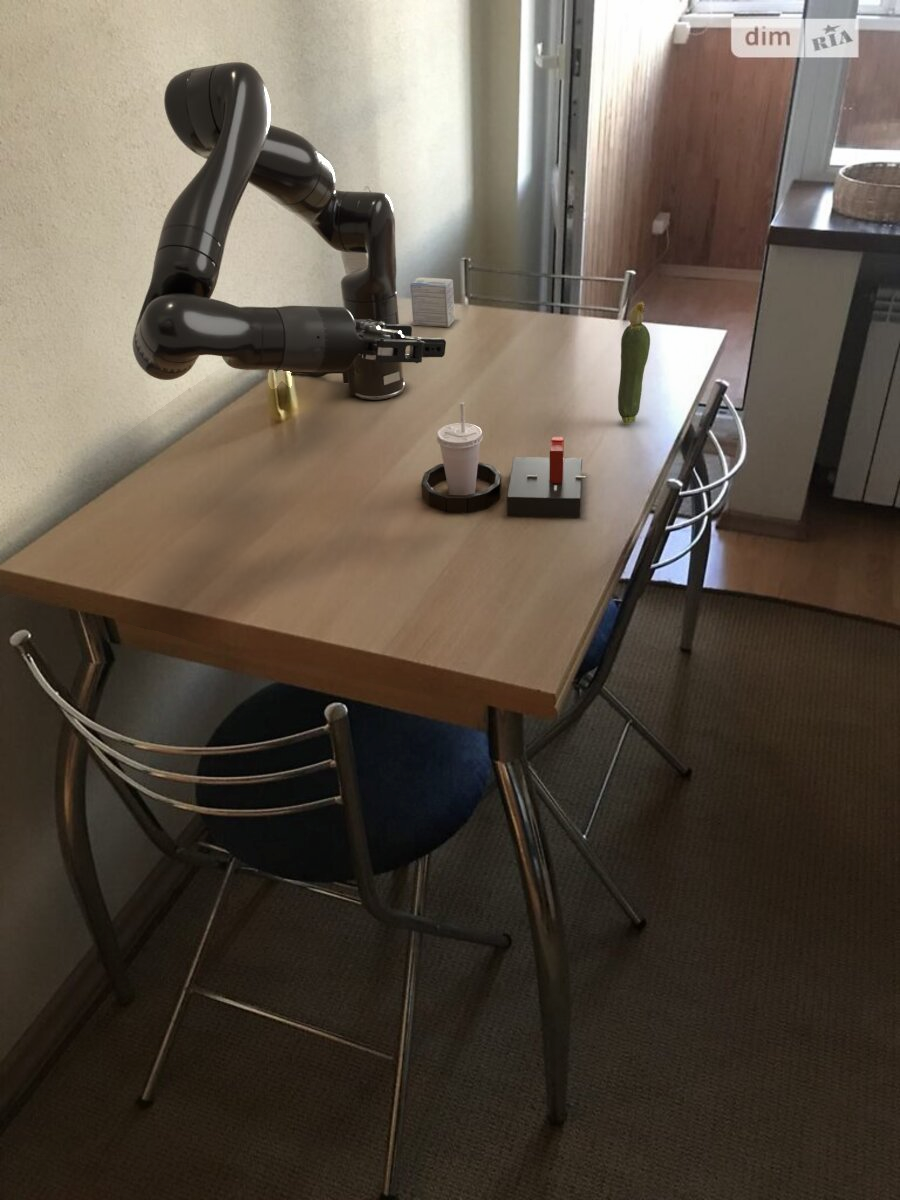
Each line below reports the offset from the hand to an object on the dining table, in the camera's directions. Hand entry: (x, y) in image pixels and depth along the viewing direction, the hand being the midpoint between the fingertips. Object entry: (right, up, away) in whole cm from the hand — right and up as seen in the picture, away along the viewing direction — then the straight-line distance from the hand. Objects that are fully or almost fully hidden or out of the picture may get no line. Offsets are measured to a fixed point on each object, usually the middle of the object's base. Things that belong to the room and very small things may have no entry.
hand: (426, 340), depth 121 cm
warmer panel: (+17, -18, +15) cm, 29 cm away
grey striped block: (0, +24, +77) cm, 80 cm away
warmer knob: (+18, -16, +13) cm, 27 cm away
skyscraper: (-14, +22, +74) cm, 79 cm away
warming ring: (+5, -18, +17) cm, 25 cm away
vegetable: (+32, -4, +34) cm, 47 cm away
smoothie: (+5, -18, +17) cm, 25 cm away
